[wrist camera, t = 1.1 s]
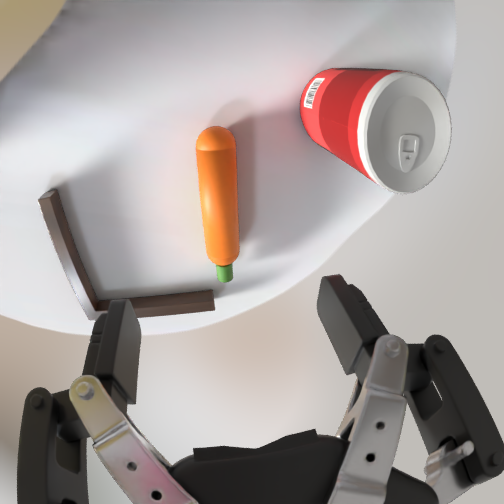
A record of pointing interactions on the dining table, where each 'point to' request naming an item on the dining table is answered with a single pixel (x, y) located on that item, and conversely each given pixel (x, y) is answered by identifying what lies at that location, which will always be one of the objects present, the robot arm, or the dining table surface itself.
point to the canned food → (380, 124)
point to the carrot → (219, 197)
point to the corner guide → (83, 287)
